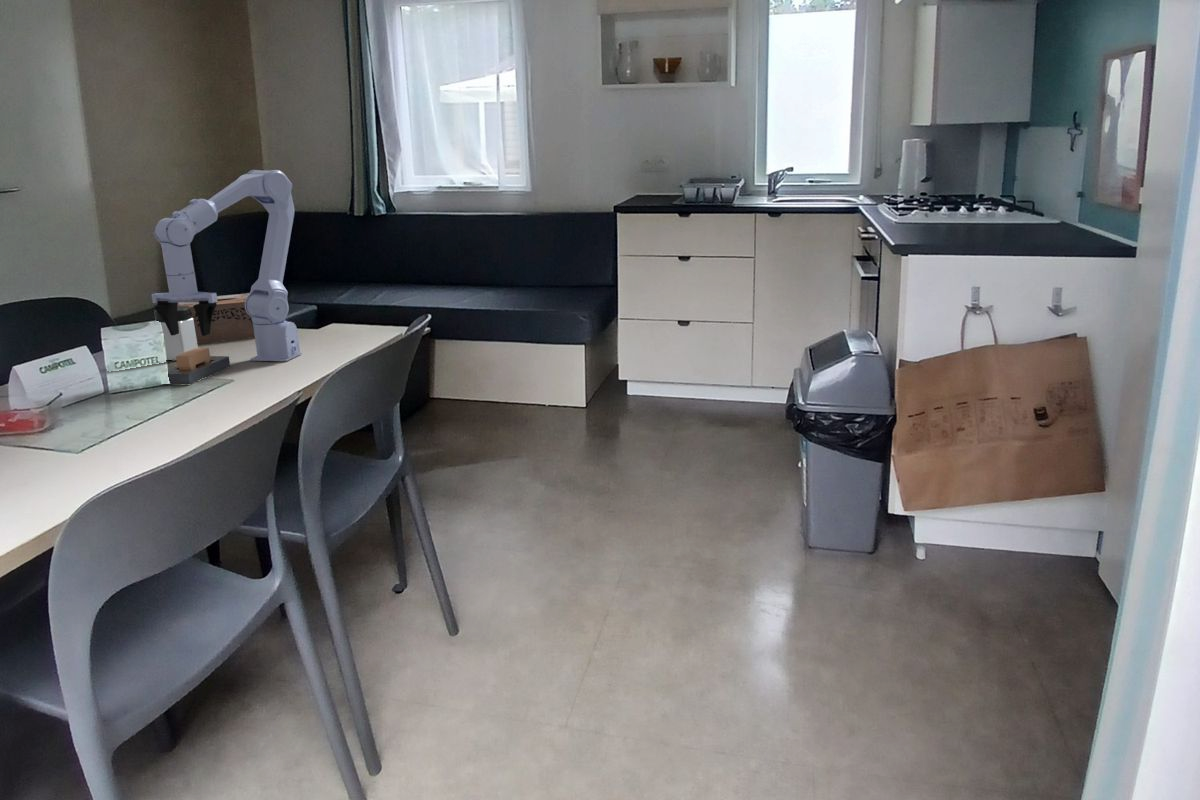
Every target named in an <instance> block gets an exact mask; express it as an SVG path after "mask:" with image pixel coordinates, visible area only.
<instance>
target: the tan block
mask: <svg viewBox="0 0 1200 800" xmlns="http://www.w3.org/2000/svg"><path fill="white" fill-rule="evenodd" d="M210 352H211V351H210V348H209V347H198V348H195V349H192V350H190V351H187V352H185V353H182V354H180V355H177V356H176V360H175V361H176V366H178V367H179V370H193V369H196V364H199V363H201V364H207V363H210V359H211V358H210V356H211V354H210Z"/></svg>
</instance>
